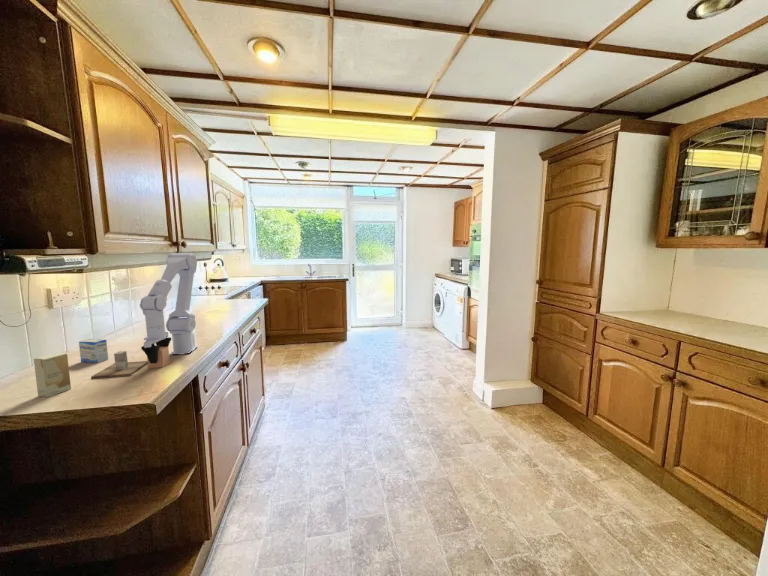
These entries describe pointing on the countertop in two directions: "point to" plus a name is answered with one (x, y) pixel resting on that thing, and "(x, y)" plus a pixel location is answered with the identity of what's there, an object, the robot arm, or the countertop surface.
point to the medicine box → (93, 350)
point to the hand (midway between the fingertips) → (158, 359)
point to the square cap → (161, 358)
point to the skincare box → (52, 374)
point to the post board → (120, 372)
